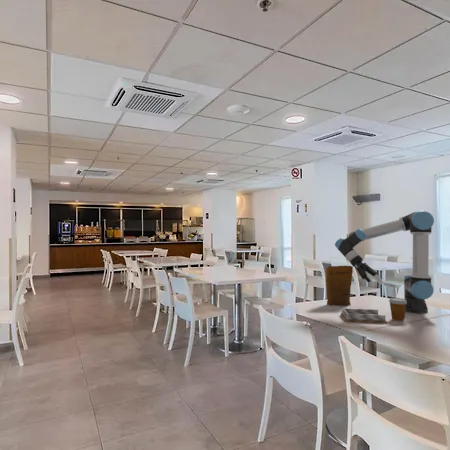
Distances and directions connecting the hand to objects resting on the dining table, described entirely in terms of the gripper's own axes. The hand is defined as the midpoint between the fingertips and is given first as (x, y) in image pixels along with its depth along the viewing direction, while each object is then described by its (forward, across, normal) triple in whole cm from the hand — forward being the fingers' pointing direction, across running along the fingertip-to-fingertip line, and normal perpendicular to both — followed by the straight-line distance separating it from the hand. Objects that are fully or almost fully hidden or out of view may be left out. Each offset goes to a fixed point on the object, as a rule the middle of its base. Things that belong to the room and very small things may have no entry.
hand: (378, 284), depth 209 cm
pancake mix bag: (-9, -15, -37) cm, 41 cm away
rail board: (+10, +12, -17) cm, 23 cm away
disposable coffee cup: (+22, 0, -6) cm, 22 cm away
